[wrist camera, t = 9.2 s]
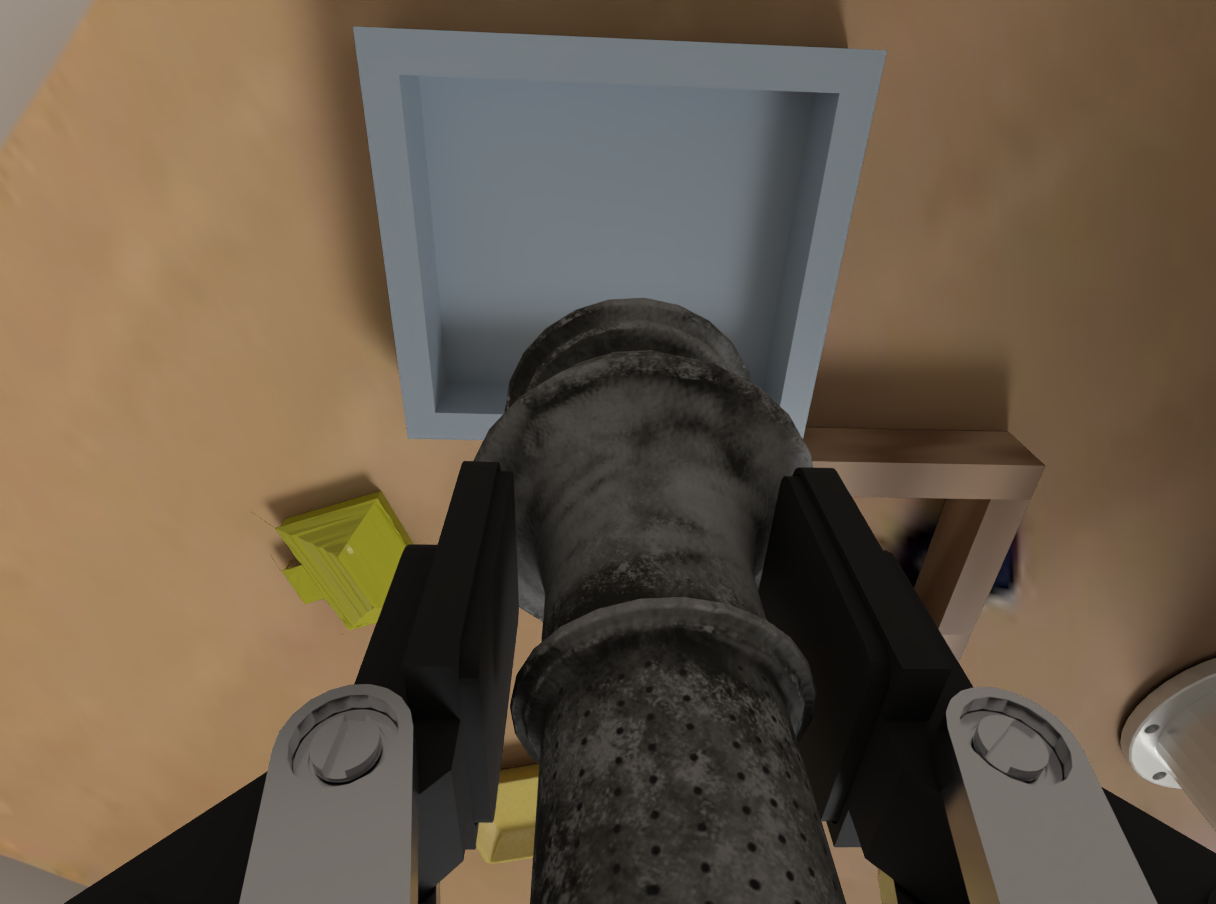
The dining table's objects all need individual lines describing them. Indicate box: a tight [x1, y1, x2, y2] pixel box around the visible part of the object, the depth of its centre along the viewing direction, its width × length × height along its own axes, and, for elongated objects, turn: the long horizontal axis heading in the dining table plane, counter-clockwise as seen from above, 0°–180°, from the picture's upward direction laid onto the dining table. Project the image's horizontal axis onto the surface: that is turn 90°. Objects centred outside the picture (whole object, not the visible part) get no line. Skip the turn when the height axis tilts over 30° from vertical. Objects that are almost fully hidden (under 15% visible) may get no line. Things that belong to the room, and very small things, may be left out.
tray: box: [353, 26, 887, 440], centre depth 25 cm, size 16×14×4 cm
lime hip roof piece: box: [253, 491, 413, 635], centre depth 34 cm, size 10×9×3 cm
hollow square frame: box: [803, 427, 1045, 660], centre depth 33 cm, size 12×12×3 cm
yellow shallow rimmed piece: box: [476, 764, 539, 863], centre depth 45 cm, size 9×9×2 cm
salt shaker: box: [474, 298, 846, 904], centre depth 9 cm, size 6×6×12 cm
